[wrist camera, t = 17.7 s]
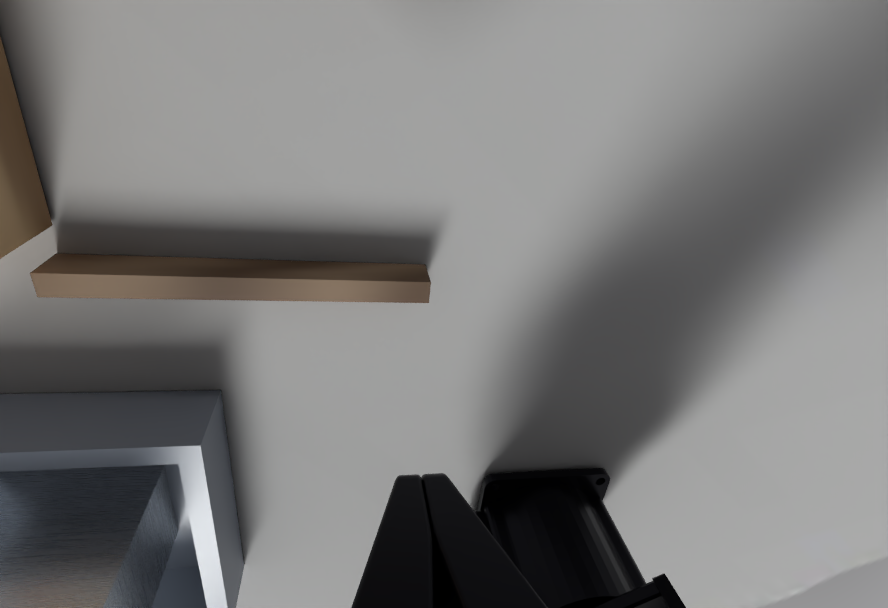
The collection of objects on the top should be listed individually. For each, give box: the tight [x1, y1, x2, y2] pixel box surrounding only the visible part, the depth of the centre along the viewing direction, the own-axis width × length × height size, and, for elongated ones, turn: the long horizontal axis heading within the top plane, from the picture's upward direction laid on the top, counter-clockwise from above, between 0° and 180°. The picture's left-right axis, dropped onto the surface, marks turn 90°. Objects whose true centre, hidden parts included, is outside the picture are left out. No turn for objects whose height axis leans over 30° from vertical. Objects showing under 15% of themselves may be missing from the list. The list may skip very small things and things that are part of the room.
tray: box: [0, 390, 244, 608], centre depth 20 cm, size 11×11×3 cm
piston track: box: [30, 254, 431, 303], centre depth 14 cm, size 17×13×2 cm
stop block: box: [0, 465, 178, 608], centre depth 17 cm, size 6×4×7 cm, turn 84°
